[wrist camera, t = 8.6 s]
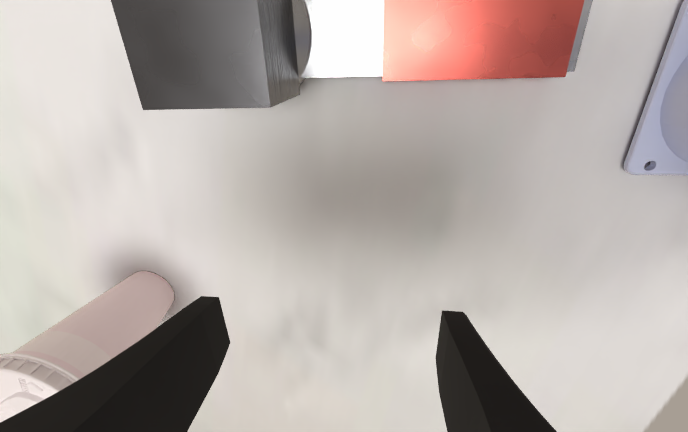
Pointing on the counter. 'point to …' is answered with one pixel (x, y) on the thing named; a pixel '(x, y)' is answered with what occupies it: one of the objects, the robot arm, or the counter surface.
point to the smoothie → (83, 341)
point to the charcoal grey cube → (210, 52)
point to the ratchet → (438, 38)
